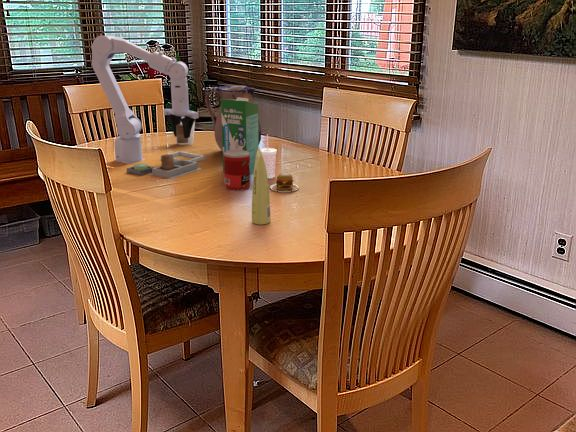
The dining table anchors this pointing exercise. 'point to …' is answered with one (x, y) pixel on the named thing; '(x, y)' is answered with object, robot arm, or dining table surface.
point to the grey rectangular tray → (176, 169)
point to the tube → (260, 192)
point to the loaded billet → (167, 162)
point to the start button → (140, 166)
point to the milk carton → (240, 127)
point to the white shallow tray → (190, 155)
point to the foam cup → (190, 139)
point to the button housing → (138, 172)
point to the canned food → (237, 169)
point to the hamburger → (284, 182)
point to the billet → (180, 134)
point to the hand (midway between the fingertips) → (182, 136)
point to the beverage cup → (269, 160)
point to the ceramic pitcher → (231, 94)
